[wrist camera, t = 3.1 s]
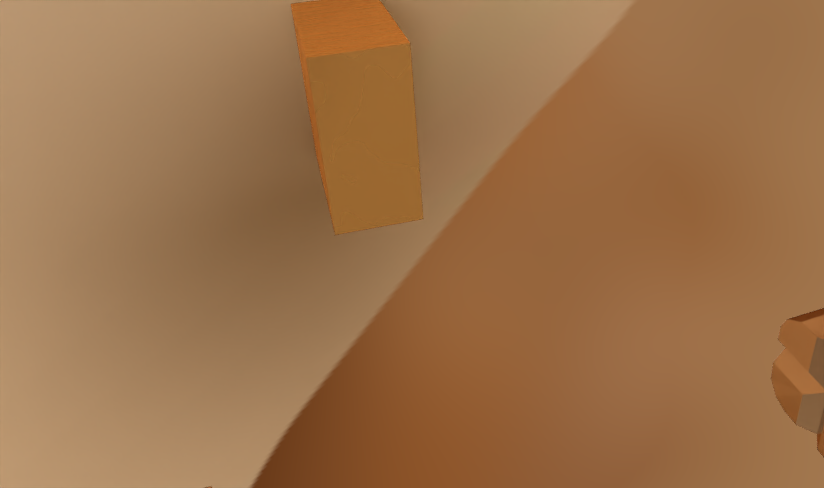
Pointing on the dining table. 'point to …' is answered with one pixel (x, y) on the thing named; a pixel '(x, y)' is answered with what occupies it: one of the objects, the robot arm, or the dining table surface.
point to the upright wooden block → (360, 111)
